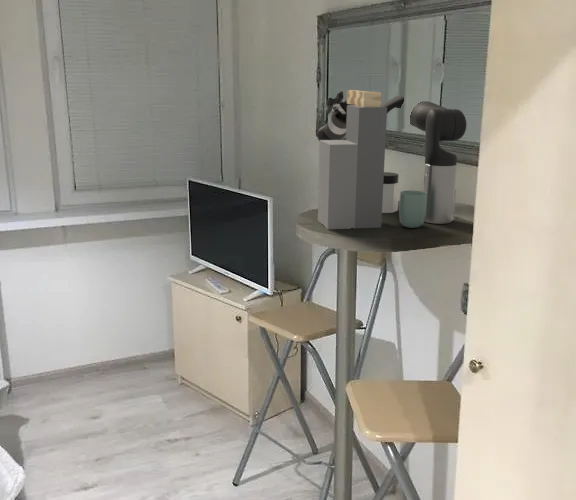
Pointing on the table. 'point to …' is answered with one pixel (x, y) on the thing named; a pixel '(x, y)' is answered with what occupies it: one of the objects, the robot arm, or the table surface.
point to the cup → (412, 208)
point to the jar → (390, 192)
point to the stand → (353, 172)
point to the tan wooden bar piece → (364, 98)
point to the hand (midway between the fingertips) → (355, 94)
